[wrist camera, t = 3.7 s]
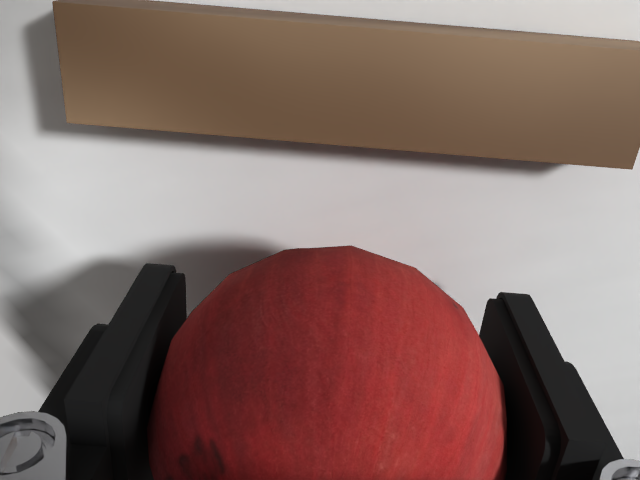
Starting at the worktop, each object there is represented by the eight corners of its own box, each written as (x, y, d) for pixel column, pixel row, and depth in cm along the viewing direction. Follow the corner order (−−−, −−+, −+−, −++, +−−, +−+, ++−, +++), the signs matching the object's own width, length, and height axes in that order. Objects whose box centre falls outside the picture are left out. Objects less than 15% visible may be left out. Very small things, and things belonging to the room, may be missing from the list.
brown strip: (80, -6, 11) (52, 1, 10) (637, 41, 11) (670, 52, 10) (92, 105, 12) (67, 122, 11) (606, 147, 12) (632, 169, 11)
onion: (283, 429, 15) (232, 859, 8) (151, 252, 13) (-76, 631, 6) (501, 345, 14) (666, 776, 7) (393, 130, 12) (470, 436, 5)
